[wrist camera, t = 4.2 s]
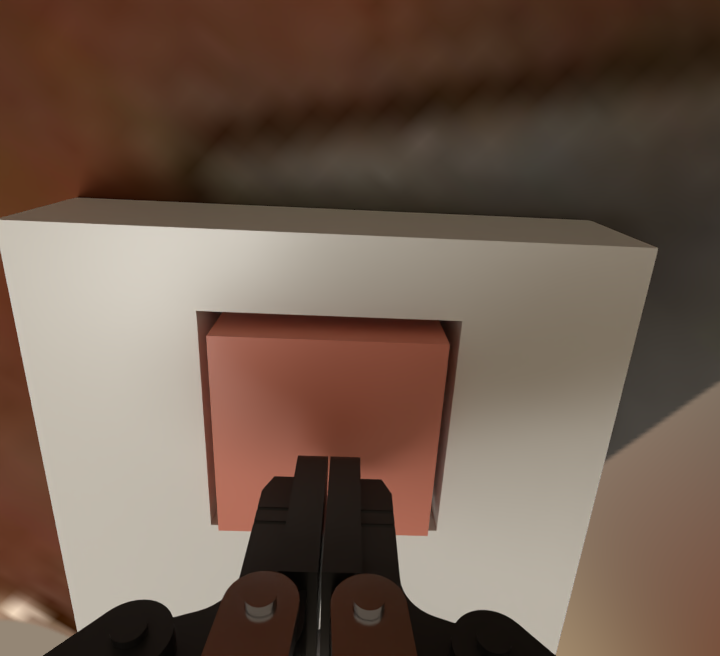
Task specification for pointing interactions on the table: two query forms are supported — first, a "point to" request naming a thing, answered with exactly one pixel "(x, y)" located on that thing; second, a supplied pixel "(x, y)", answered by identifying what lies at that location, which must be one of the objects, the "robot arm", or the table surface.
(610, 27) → the table surface
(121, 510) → the key panel
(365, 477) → the red key
